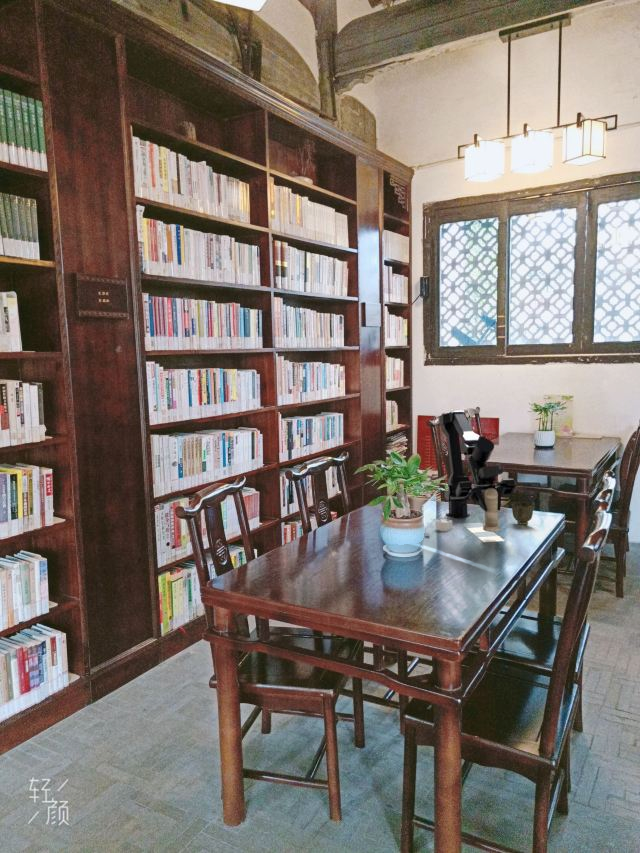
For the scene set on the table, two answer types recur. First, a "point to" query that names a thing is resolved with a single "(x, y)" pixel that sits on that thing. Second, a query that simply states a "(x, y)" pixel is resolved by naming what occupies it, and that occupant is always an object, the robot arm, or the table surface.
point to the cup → (522, 512)
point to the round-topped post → (491, 511)
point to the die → (444, 525)
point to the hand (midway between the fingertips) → (492, 510)
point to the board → (482, 532)
